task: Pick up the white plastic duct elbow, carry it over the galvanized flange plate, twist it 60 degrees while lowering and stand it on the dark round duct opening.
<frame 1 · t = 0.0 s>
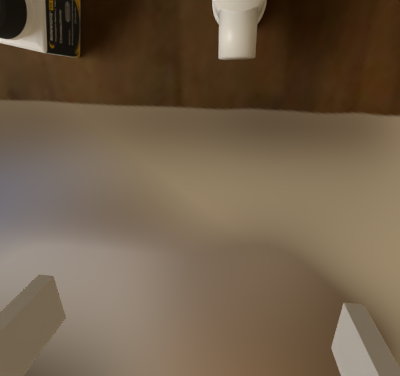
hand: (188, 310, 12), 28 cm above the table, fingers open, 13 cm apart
elbow: (239, 4, 30), on the table
medicine bottle: (56, 23, 34), on the table
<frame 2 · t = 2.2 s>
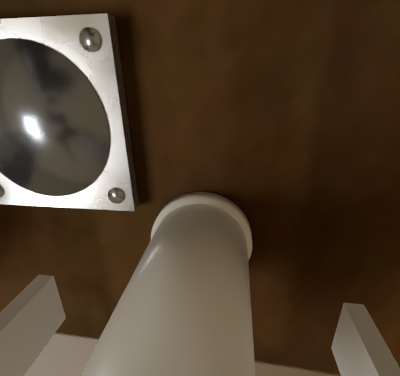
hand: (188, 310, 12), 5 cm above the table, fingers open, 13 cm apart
flange plate: (46, 124, 15), on the table
elbow: (202, 235, 16), on the table
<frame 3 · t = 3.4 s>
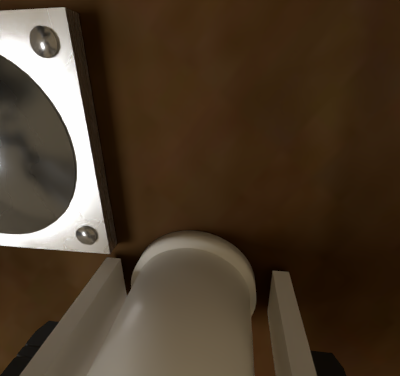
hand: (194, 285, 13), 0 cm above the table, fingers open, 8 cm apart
elbow: (194, 280, 13), on the table
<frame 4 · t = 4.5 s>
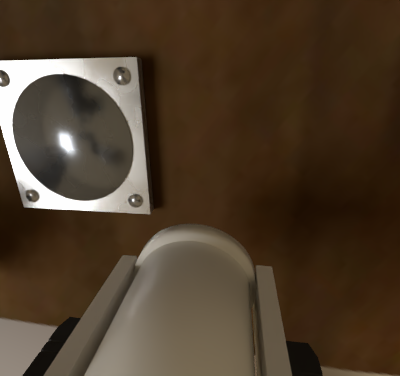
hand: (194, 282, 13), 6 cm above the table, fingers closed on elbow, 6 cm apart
flange plate: (79, 140, 18), on the table
elbow: (195, 273, 14), point 5 cm above the table, touching gripper
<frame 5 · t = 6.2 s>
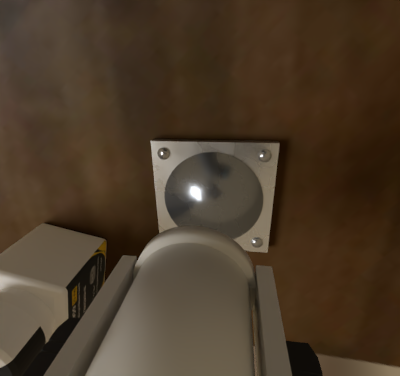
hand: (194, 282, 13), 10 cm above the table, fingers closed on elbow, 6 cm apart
flange plate: (213, 196, 22), on the table
elbow: (195, 275, 13), point 10 cm above the table, touching gripper
medicine bottle: (76, 255, 28), on the table
when the fingers open (2 cm above the table, at t = 7.9 s): elbow stays where it is, resting on flange plate.
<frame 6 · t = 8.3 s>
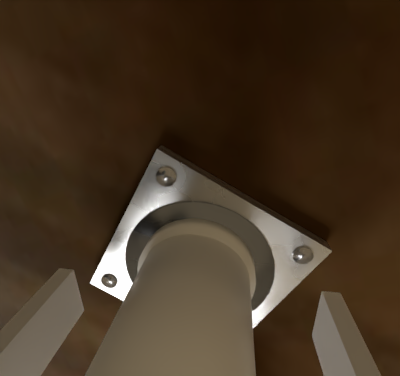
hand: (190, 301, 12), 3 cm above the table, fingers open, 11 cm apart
flange plate: (199, 259, 15), on the table
elbow: (197, 267, 14), point 1 cm above the table, touching flange plate
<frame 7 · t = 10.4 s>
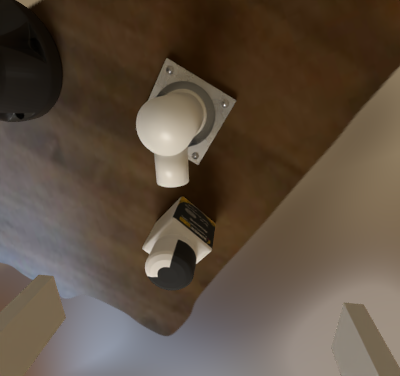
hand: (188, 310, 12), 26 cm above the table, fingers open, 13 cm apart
flange plate: (184, 114, 34), on the table
elbow: (183, 114, 33), point 1 cm above the table, touching flange plate
medicine bottle: (185, 222, 41), on the table
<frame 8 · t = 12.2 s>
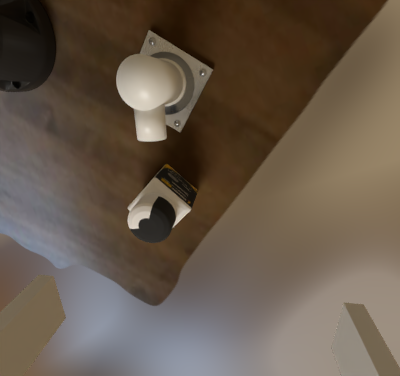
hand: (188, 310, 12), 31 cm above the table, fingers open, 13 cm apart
flange plate: (166, 84, 37), on the table
elbow: (165, 83, 36), point 1 cm above the table, touching flange plate
medicine bottle: (170, 190, 44), on the table
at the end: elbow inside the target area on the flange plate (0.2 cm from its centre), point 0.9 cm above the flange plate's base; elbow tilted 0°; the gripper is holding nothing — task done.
